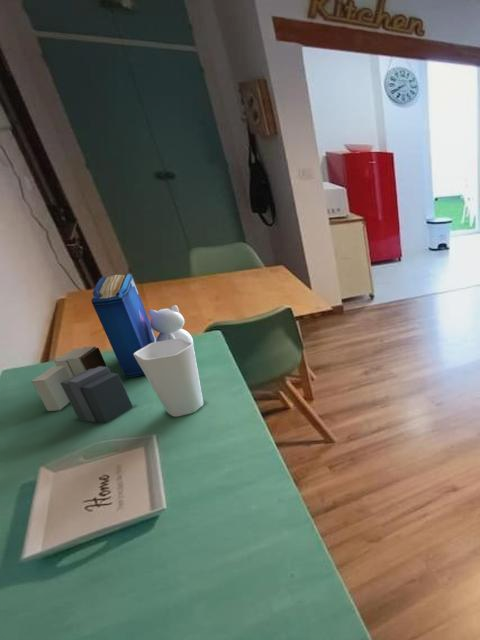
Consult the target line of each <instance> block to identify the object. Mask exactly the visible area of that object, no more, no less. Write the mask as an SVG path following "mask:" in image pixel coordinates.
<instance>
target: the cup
mask: <svg viewBox="0 0 480 640" xmlns="http://www.w3.org/2000/svg"><path fill="white" fill-rule="evenodd" d="M133 355H134V357H135V359H136V360H137V362H138V364H139V365H140V367H141V369H142V370H143V372H144V376H145V377H146V379H147V380H148V382H149V384H150V385H151V387H152V388H153V391H154V392H155V394H156V396H157V397H158V399H159V401H160V403H161V404H162V406H163V408H164V409H165V411H166V412H167V414H169V415H170V416H172V417H181V416H182V417H183V416H186V415H190V414H191V415H192V414H193V413H195V412H197V411H199V409H200V408H201V407H202V406H203V405H204V399H203V394H202V386H201V382H200V381H201V380H200V375H199V369H198V364H197V358H196V353H195V346H194V342H193V343H191V342H189V341H187V340H184V339H182V338H178V339H172V340H165V341H159V342H154V343H150V344H149V345H147V346H145V347H143V348H142V349H140V350H138V351H136V352H135V353H134V354H133Z"/></svg>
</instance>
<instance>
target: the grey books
mask: <svg viewBox="0 0 480 640" xmlns="http://www.w3.org/2000/svg"><path fill="white" fill-rule="evenodd" d="M61 385H62V387H63V389H64V391H65V393H66V395H67V397H68V399H69V401H70V402H69V404H70V405H71V407H72V408H73V411H74V412H75V414H76V416H77V418H78V420H81V421H87V422H92V423H97V422H98V423H104V424H105V423H109V422H110V421H112V420H114V419H115V418H117V417H119V416H120V415H122V414H124V413H125V412H127V411H129V410H131V409H132V408H133V407H134V406H133V404H132V402H131V400H130V397H129V395H128V393H127V390H126V388H125V385H124V384H123V381H122V379H121V376H120V373H114V372H111V370H110V368H109V367H108V366H107V367H102V366H99V367H97V368H95V369H92V368H91V369H89V370H86V371H84V372H82V373H80V374H78V375H76V376H74V377H71V378H69V379H67V380H65V381H63V382H61Z"/></svg>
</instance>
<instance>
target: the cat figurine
mask: <svg viewBox="0 0 480 640" xmlns="http://www.w3.org/2000/svg"><path fill="white" fill-rule="evenodd" d="M148 314H149V317H150V324H151V326H152V329H153V331H155V332H157V333H159V334H158V335H157V336H156V342H159V341H165V340H172V339H178V338H182V339H184V340H187V341H189V342H191V343H193V344H194V339H193V336H192V335H191V334H190V333H189V331H187V330H185V329H184V328H183V327H184V325H185V318H184V316H183V315H182V314H181V312H180V309H179V307H178V305H176V304H174V305H172V306H171V307H169V308H161V309H159V310H158V309H157V310H155V309H152V308H151V309H149V310H148Z"/></svg>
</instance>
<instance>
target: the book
mask: <svg viewBox="0 0 480 640" xmlns="http://www.w3.org/2000/svg"><path fill="white" fill-rule="evenodd" d="M92 295H93V297H92V298H91V299H90V301H91V304H92V306H93V309H94V311H95V313H96V316H97V317H98V320H99V322H100V324H101V326H102V329H103V331H104V333H105V335H106V338H107V340H108V342H109V344H110V347H111V349H112V350H113V353H114V355H115V358H116V360H117V362H118V364H119V366H120V369H121V371H122V373H123V375H124V377H125V378H134V377H141V376H143V375H144V376H145V374H144V372H143V370H142V369H141V367H140V365H139V364H138V362H137V360H136V359H135V357H134V355H133V354H134V353H135V352H136V351H138V350H140V349H142V348H143V347H145V346H147V345H149V344H150V343H154V342H156V339H157V336H156V333H155V332H154V331H155V330H154V329H153V328H152V326H151V320H150V318H149V316H148V314H147V311H146V307H145V306H144V303H143V300H142V298H141V295H140V293H139V289H138V288H137V284H136V282H135V279H134V277H133V274H131V273H129V272H128V273H126V274H125V275H124V274H114V275H110V276H105V275H102V276H101V277H100V278H99V279H98V280H97V282H96V284H95V286H94V289H93V291H92Z"/></svg>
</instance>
